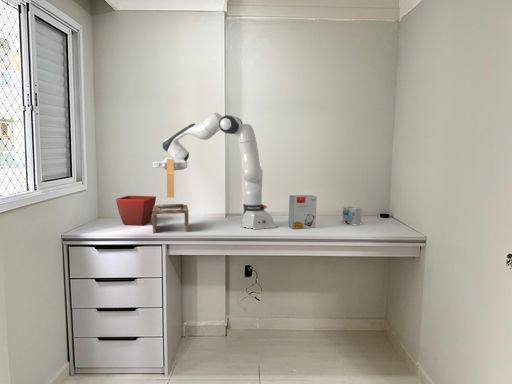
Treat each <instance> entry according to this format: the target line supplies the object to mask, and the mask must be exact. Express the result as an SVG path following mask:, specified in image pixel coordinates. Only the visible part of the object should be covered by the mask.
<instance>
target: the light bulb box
mask: <svg viewBox="0 0 512 384" xmlns="http://www.w3.org/2000/svg"><path fill="white" fill-rule="evenodd" d="M362 211H363V209H362V207H355V206H350V205H348V206H343V207H342V221H341V223H342V222H345V223H344V224H346V223H350V224H349V225H351V224H360V223H361V224H362V214H363V213H362ZM361 224H360V225H361Z"/></svg>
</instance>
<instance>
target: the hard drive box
mask: <svg viewBox="0 0 512 384" xmlns="http://www.w3.org/2000/svg"><path fill="white" fill-rule="evenodd" d="M317 199H318V197H317V196H315V195H313V194H312V195H311V194H309V195H307V194H304V195H303V194H302V195H301V194H299V195H298V194H297V195H295V194H294V195H293V194H292V195H289V205H288V227H289V228H291V229H293V230H294V229H295V230H296V229H297V230H298V229H316V219H317V204H318V203H317Z"/></svg>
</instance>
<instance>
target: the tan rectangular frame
mask: <svg viewBox="0 0 512 384" xmlns="http://www.w3.org/2000/svg"><path fill="white" fill-rule="evenodd" d="M167 214H168V215H169V214H170V215H171V214H173V215H174V214H175V215H176V214H177V215H179V214H184V228H185V232H186V233H189V229H190V228H189V227H190V226H189V223H190V222H189V207H188V205H187V204H184V203H172V204H171V203H167V204H165V203H164V204H163V203H162V204H160V203H158V204H157V205H156V204H155V205H154V207H153V214H152V234H156V233H157V228H158V220H157V219H158V216H157V215H167Z"/></svg>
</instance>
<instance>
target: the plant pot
mask: <svg viewBox="0 0 512 384" xmlns="http://www.w3.org/2000/svg"><path fill="white" fill-rule="evenodd" d="M115 200H116V206H117V210H118V213H119V216H120V219H121V221H122V224H123V225H128V226H129V225H130V226H144V225H146V224H148V223H150V222H151V219H152V218H153V207H154V205H156V200H157V196H155V195H153V196H152V195H126V196H122V197H118V198H116V199H115Z"/></svg>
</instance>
